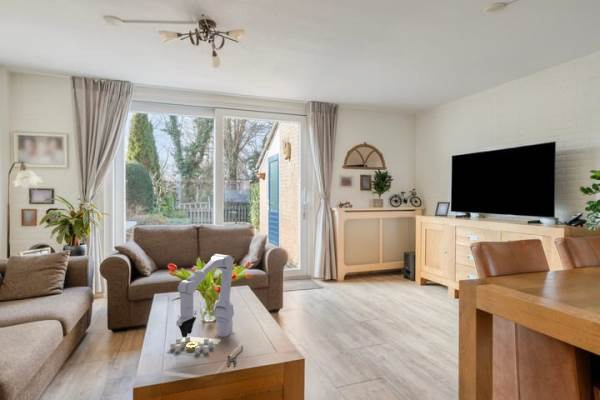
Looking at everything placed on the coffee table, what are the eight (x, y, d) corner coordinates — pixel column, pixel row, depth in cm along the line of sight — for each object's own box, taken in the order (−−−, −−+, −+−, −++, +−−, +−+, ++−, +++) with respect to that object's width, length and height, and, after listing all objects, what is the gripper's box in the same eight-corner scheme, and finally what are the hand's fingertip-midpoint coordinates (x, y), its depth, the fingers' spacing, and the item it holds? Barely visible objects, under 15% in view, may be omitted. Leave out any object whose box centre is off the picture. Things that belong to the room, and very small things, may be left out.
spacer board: (185, 338, 170) (185, 330, 170) (221, 341, 166) (221, 333, 166) (165, 355, 152) (165, 346, 152) (205, 359, 149) (205, 350, 149)
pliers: (241, 343, 164) (249, 363, 145) (241, 345, 164) (249, 365, 145) (222, 346, 160) (227, 367, 142) (221, 348, 160) (227, 369, 142)
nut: (183, 350, 154) (183, 346, 154) (189, 345, 159) (189, 341, 159) (194, 351, 153) (195, 347, 153) (200, 346, 158) (200, 342, 158)
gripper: (187, 300, 159) (186, 328, 159) (170, 311, 145) (170, 341, 145) (200, 301, 158) (200, 329, 158) (184, 312, 143) (184, 342, 144)
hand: (186, 335), depth 151 cm, fingers open, 3 cm apart
